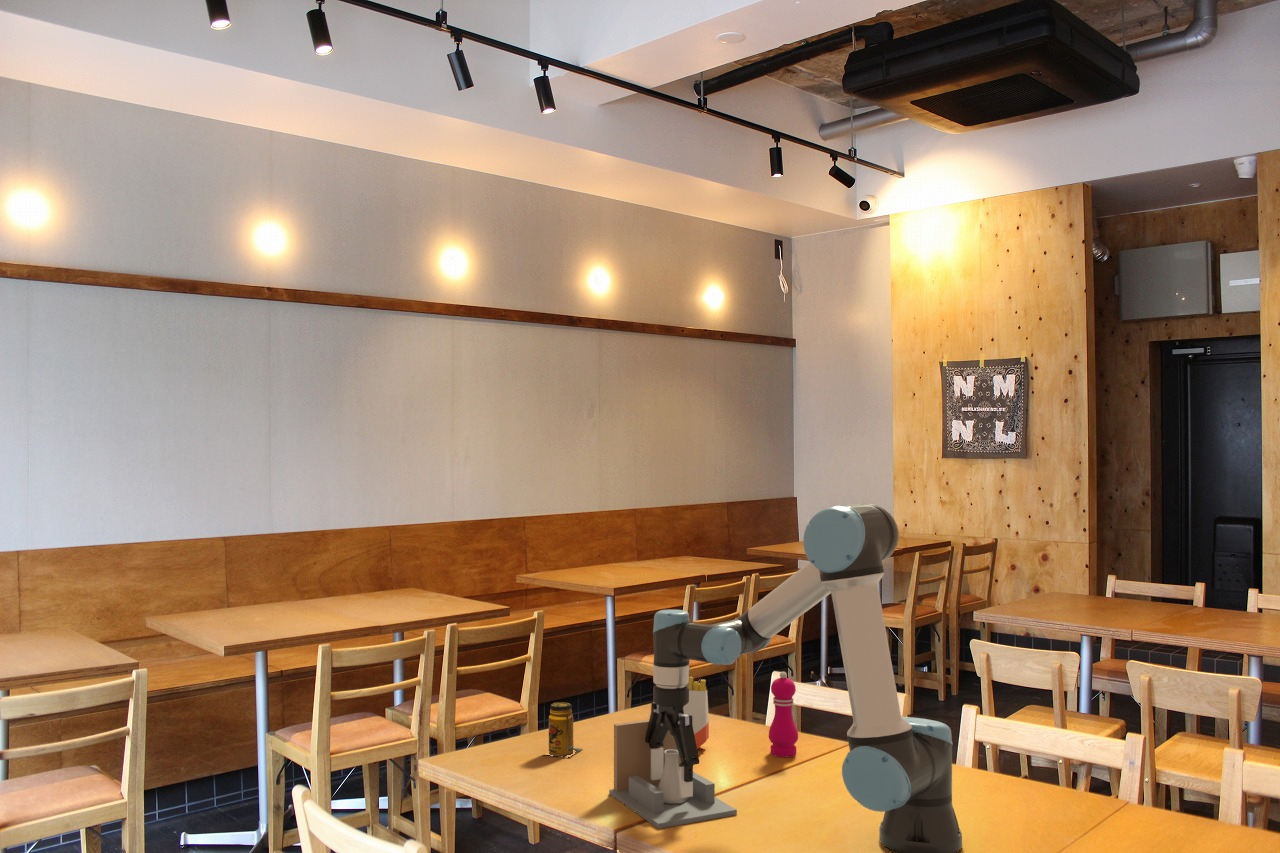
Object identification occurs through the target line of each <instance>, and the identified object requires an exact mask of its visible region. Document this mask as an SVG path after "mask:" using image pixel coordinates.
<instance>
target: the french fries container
mask: <svg viewBox="0 0 1280 853" xmlns="http://www.w3.org/2000/svg"><path fill="white" fill-rule="evenodd" d="M706 681H707V680H706V679H700V681H694V676H689V683H688V686H689V702H688V704H686V705H685V706H684V707H683V710H684V714H685V715H688V714H691V715H692V724H693V731H694V736H695V741H696V746H697V750H698V749H699V748H700V747H701V746H703V745H704V744H705V743H707V740H708V739H709V737H710V736H709V734H710V733H709V732H710V729H709V728H710V723H709V722H710V721H709V720H710V719H709V717H710V716H709V702H708V701H709V700H708V699H709V698H708V689H707V686H706Z"/></svg>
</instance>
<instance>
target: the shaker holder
mask: <svg viewBox="0 0 1280 853" xmlns="http://www.w3.org/2000/svg"><path fill="white" fill-rule="evenodd" d="M648 724H649V719H644V720H635V721H627V722H620V723H618V722H617V723H613V788H611V789H609V790H608V792H609V794H608V795H609V796H611V795H612V796H613V797H612V796H611V797H612V798H614V799H615V798H616V799H615V800H617V801H618V800H619V801H618V802H620V803H621V802H622V803H623V804H622V803H621V804H622V805H624V804H625V805H626V806H625V805H624V806H625V807H627V808H628V809H630V810H631V811H632V810H633V812H634V811H635V812H636V813H635V812H634V813H635V814H637V813H638V814H639V815H638V814H637V815H638V816H639V817H641V818H642V817H643V818H642V819H643V820H645V821H646V822H648V823H649V824H651V825H652V826H654V827H655V828H657V829H658V830H660V829H661V830H662V829H665V828H671V827H677V826H682V825H688V824H692V823H698V822H705V821H708V820H715V819H720V818H726V817H731V816H738V815H737V814H738V810H737V809H736V808H735V807H733V806H731V805H729V804H728V803H726V802H724V801H722V800H721V799H719V798H718V797H716V796H715V792H716V791H715V789H716V788H715V787H716V786H715V782H713V781H711V780H709V779H707V778H705V776H702V775H700V774H698V773H696V772H695V771H693V796H691V797H688V800H687V801H685V802H683V803H675V804H667V803H664V792H663V791H661V790H660V789H658V786H659V783H660V780H661V779H658V780H651V748H650V747H649V743H646V741H645V737H646V733H647V728H648ZM651 736H652V735H651ZM651 736H650V737H651ZM663 744H664V746H660V747H659V748H661V747H662V748H663V771H664V766H665V754H664V751H665V750H672V749H673V750H678V749H677V746H676V743H675V740H674V736H672V735H671V734H670V731H669V730H668V731H667V734H666V736H665V738H664V740H663ZM680 763H682V762H681V759H680V756H679V755H678V766H679V764H680Z"/></svg>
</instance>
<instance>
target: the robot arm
mask: <svg viewBox="0 0 1280 853" xmlns="http://www.w3.org/2000/svg"><path fill="white" fill-rule="evenodd" d="M899 535H900V534H899V529H898V525H897V522H896V520H895V519H894V517H893V516H892V514H891V513H890V512H889V511H887V510H886V509H885V508H883V507H882V506H880V505H877V504H873V503H872V504H871V503H862V504H861V503H860V504H846V505H845V504H843V505H842V504H841V505H834V506H832V507H827V508H824V509H822V510H820V511H818V512H817V513H815V514H814V515H813V516H812V517H811V518H810V520H809V522H808V523H807V525H806V526H805V530H804V534H803V537H802V538H803V539H802V540H803V542H802V544H803V550H804V551H803V552H804V554H805V556H806V558H807V559H808V560H807V561H808V562H807V563H806V564H805V565H804V566H802V567H801V568H799V569H798V570H797V571H796V572H795V573H793V574H791V575H790V577H788V578H787V579H785V580H784V581H783V582H782V583H780V584H779V585H778V586H776V587H775V588H774V589H773V590H771V591H770V592H769V593H768V594H766V595H765V596H764V597H763V598H761V599H760V600H759V601H758V602H756V603H755V604H754V605H753V606H751V607H750V608H749V609H748V610H746V611H745V612H743V614H741V615H740V616H738V617H736V618H735V619H731V620H727V621H723V622H722V621H721V622H717V623H713V624H711V623H710V624H705V623H703V624H702V623H695V622H693V621H692V622H690V621H691V620H690V614H689V612H688V611H686V610H683V609H661V610H659V611H657V612H656V613H655V614H654V616H653V629H652V637H653V663H652V665H653V666H652V667H653V670H652V672H653V674H652V677H653V678H652V681H653V684H654V685H653V687H652V688H653V692H652V693H653V699H652V700H653V702H651V703H650V714H649V719H648V720H649V724H648V728H647V733H646V737H645V741H646V743H649V747H650V748H651V780H658V779H661V777H662V774H663V748H662V747H661V748H659V747H660V746H664V744H663V740H664V738H665V736H666V734H667V731H668V730H669V731H670V734H671V735H672V736H674V740H675V743H676V746H677V749H678V753H679V756H680V759H681V762H682V763H680V764H679V797H680V798H686V797H691V796H693V772H694V765H699V764H700V758H699V752H698V749H697V746H696V741H695V736H694V731H693V724H692V715H691V714H688V715H685V714H684V710H683V707H684V706H685V705H686V704H688V702H689V677H690V670H691V668H690V660H692V661H697V662H702V663H708V664H712V665H715V666H719V665H721V666H722V665H725V666H730V665H733V664H734V663H735V662H736V660H737V659H739V657H740V656H741V655H742V656H743V655H746V654H753V653H757V652H759V651H760V650H763V649H766V648H767V646H769V644H770V643H771V641H772V638H773V637H774V636H775V635H777V634H778V633H779V632H781V631H783V629H785V628H786V627H787V626H789V625H790V624H791V623H793V622H794V621H796V620H797V619H798V618H800V617H801V616H802V615H803V614H805V613H807V612H808V611H809V610H810V609H812V608H813V607H814V606H816V605H817V604H819V602H821V601H822V600H823V599H826V597H828V596H829V595H831V598H832V599H831V600H832V603H833V604H832V606H833V610H834V615H835V621H836V622H835V623H836V628H837V632H838V635H837V636H838V639H839V645H840V651H841V656H842V662H843V668H844V674H845V680H846V685H847V686H846V687H847V691H848V692H847V693H848V698H849V704H850V709H851V715H852V721H853V722H852V725H851V726H850V728H848V730H847V732H846V735H847V743H848V748H849V751H848V752H847V755H845V758H844V760H843V762H842V767H841V775H842V780H843V781H842V782H843V783H844V786H845V788H846V790H847V792H848V793H849V795H850V796H851V797H852V798H853V800H854V801H857V803H859V805H860V806H862V807H864V808H866V809H868V810H871V811H874V812H880V813H883V812H884V814H883V818H882V821H881V823H880V824H879V834H878V835H879V837H878V838H879V842H880V843H881V844H882V846H884V847H885V848H887V849H889V850H891V851H894V852H896V853H956V852H958V851H959V850H960V849H961V848H963V834H962V831H961V829H960V827H959V822H958V818H957V815H956V812H955V809H954V806H953V745H954V743H953V741H952V740H953V738H952V737H953V736H952V730H951V727H949V725H947V724H946V723H944V722H941V721H938V720H932V719H929V718H928V719H927V718H922V717H921V718H920V717H912V716H911V717H909V716H902V713H901V709H900V703H899V697H898V692H897V685H896V681H895V674H894V670H893V669H894V668H893V664H892V659H891V651H890V647H889V640H888V634H887V629H886V625H885V619H884V612H883V608H882V606H883V605H882V600H881V596H880V589H879V583H880V581H881V579H882V578H883V577H884V575H885V571H884V570H885V569H884V566H883V562H885V561H886V560H888V559H889V558H890V557H891V556H892V555H893V553H894V552H895V550H896V549H897V546H898V543H899ZM651 735H652V736H651ZM650 736H651V737H650ZM961 850H962V849H961ZM961 850H960V851H961ZM960 851H959V852H960ZM959 852H958V853H959Z"/></svg>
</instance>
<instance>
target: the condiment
mask: <svg viewBox="0 0 1280 853" xmlns="http://www.w3.org/2000/svg"><path fill="white" fill-rule="evenodd" d="M572 709H573V706H572V704H571V703H569V702H562V701H561V702H553V703H551V704H550V710H549V713H550V714H549V716H548V751H549V754H550V755H553V756H567V755H571V754H573V750H575V751H576V752H575V753H576V754H578V753H579V752H581V750H583V749H584V747H574V715H573V710H572ZM553 756H552V757H553ZM565 758H566V759H569V758H568V757H565Z"/></svg>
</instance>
